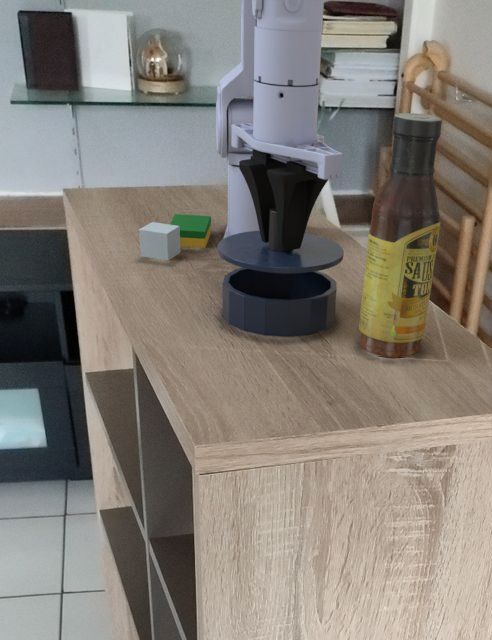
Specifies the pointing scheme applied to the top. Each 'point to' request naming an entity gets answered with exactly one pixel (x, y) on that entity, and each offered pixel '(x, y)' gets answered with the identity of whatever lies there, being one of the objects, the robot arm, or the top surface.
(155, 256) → the ice cube
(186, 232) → the scrubber
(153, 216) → the top surface
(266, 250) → the lid
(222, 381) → the top surface
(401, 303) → the sauce bottle
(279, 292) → the pot
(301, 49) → the robot arm
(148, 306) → the top surface
